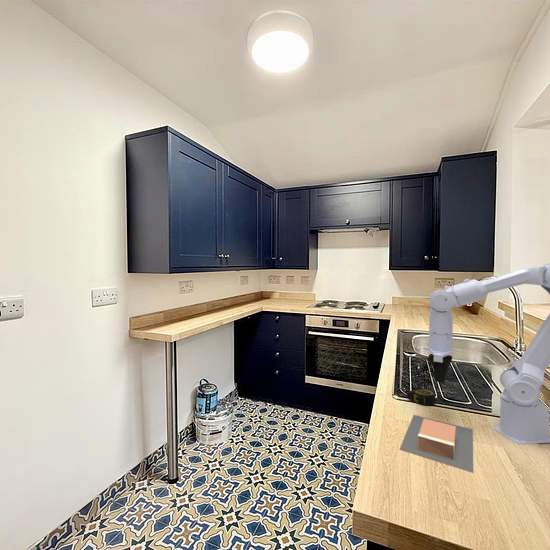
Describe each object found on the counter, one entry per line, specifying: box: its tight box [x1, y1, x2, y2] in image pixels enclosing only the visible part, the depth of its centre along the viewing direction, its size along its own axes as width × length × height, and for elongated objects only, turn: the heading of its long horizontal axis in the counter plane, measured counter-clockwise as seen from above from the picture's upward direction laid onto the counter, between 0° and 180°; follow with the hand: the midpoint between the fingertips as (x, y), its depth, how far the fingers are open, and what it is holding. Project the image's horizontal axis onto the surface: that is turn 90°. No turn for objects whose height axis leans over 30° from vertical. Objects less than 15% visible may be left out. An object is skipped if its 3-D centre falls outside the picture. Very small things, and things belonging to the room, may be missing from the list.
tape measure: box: [406, 387, 436, 406], centre depth 93 cm, size 7×7×4 cm
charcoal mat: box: [399, 414, 474, 474], centre depth 72 cm, size 20×14×1 cm
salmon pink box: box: [418, 419, 456, 460], centre depth 70 cm, size 3×7×10 cm
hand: (440, 381), depth 83 cm, fingers closed
